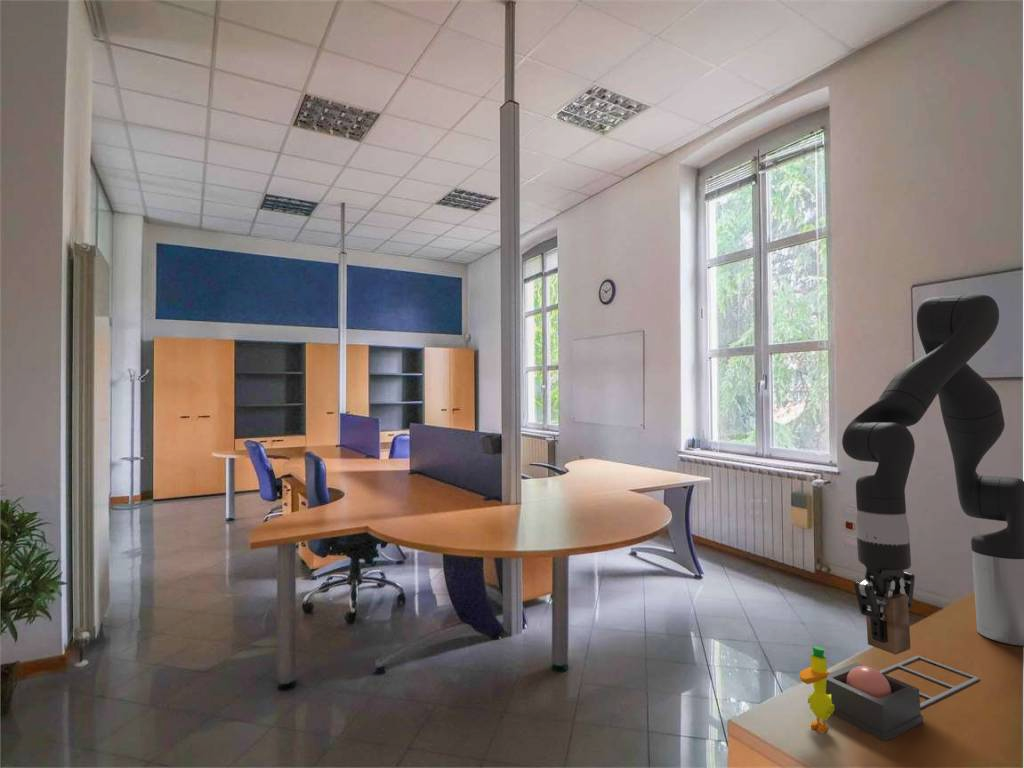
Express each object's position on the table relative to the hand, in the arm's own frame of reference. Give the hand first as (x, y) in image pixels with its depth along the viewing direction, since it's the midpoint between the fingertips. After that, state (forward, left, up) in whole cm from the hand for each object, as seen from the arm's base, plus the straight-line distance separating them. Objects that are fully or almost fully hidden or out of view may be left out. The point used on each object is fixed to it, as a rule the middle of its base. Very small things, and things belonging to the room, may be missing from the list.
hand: (888, 637), depth 90 cm
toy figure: (+20, 0, -10) cm, 22 cm away
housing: (+9, +2, -9) cm, 13 cm away
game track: (-7, 0, -9) cm, 12 cm away
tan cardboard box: (0, 0, -1) cm, 1 cm away
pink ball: (+9, +2, -8) cm, 13 cm away
